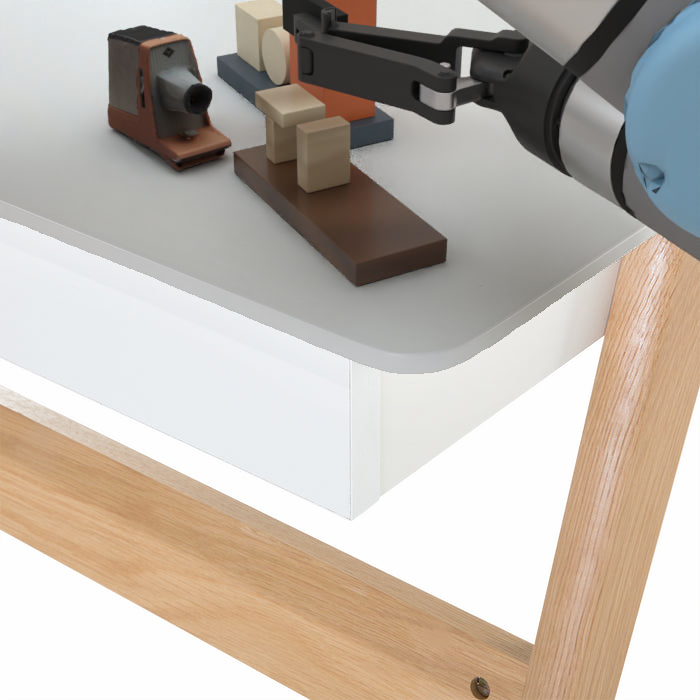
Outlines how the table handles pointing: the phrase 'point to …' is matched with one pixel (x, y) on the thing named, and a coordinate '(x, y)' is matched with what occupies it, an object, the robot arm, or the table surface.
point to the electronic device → (161, 96)
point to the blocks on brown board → (332, 192)
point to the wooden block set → (279, 65)
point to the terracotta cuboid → (360, 10)
